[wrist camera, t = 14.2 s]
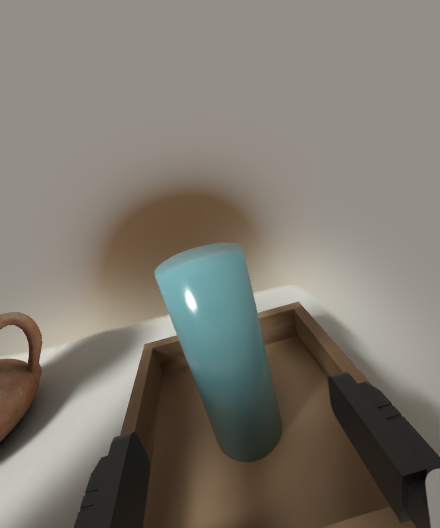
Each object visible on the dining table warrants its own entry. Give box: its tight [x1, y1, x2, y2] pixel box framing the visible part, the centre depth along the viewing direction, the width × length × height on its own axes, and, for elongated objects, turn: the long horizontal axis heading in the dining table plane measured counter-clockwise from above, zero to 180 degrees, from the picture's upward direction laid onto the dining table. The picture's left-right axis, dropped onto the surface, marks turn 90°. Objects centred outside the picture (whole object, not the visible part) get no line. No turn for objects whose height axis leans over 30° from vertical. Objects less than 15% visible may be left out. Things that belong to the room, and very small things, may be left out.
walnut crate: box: [120, 302, 416, 528], centre depth 19 cm, size 17×18×4 cm
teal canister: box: [155, 243, 282, 462], centre depth 17 cm, size 5×5×14 cm
